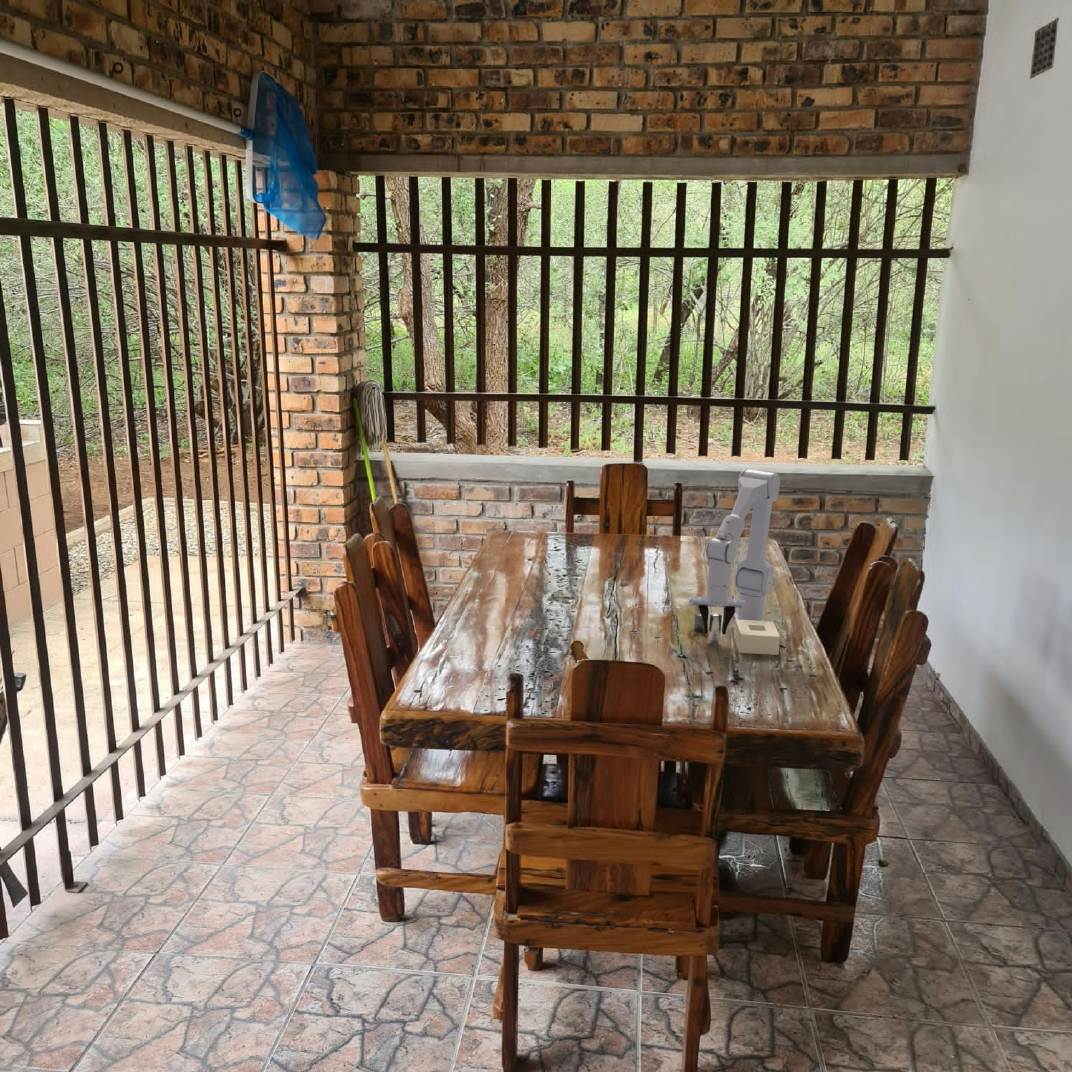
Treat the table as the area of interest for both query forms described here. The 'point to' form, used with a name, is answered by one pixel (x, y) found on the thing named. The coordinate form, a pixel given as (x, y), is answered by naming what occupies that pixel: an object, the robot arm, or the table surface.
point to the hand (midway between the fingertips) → (714, 632)
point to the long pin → (714, 629)
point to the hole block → (756, 637)
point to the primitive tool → (578, 650)
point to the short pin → (698, 623)
